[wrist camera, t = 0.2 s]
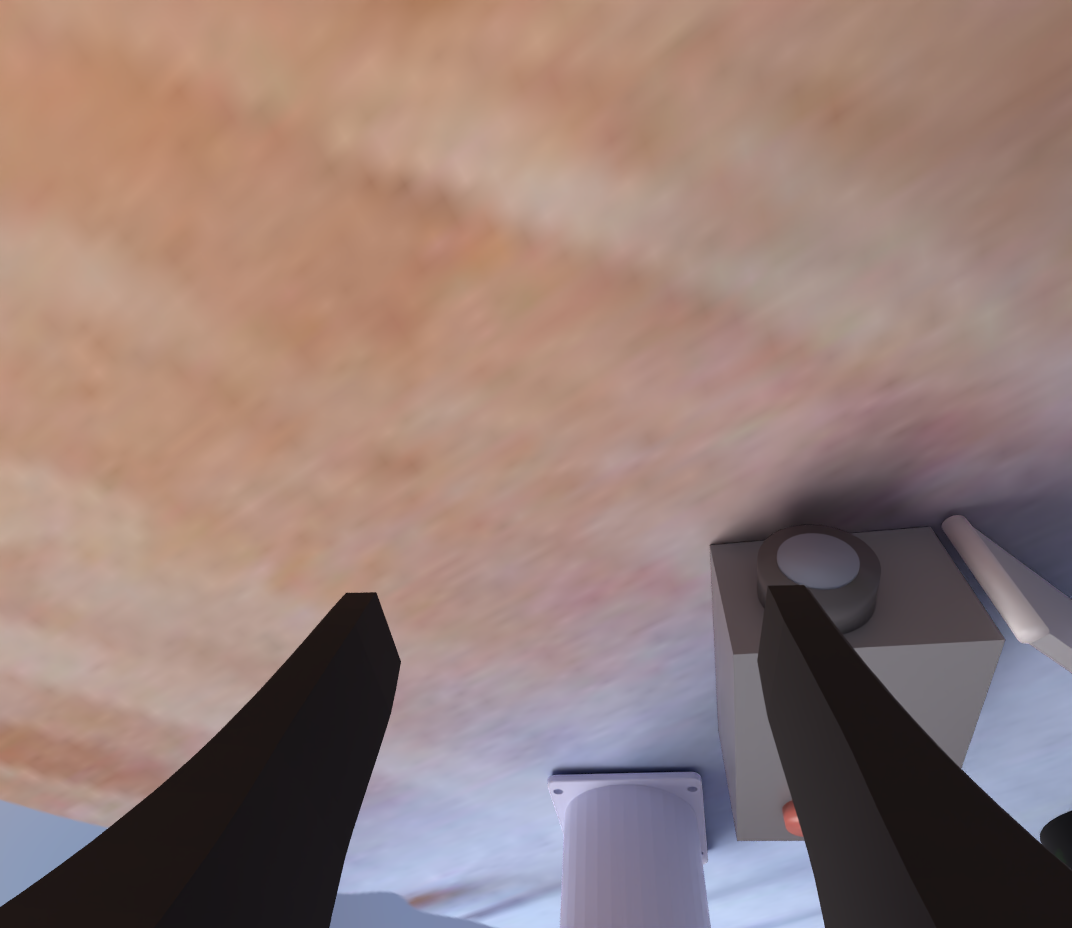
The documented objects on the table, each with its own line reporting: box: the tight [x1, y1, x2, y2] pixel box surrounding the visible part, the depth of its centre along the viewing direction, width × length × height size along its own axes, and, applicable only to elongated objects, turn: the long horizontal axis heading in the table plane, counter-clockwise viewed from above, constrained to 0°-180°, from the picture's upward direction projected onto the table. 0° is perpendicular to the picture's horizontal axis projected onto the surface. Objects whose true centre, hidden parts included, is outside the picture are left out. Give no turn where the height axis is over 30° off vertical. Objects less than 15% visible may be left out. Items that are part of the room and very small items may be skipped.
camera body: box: [710, 525, 1005, 841], centre depth 23 cm, size 14×8×6 cm, turn 11°
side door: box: [942, 515, 1072, 673], centre depth 21 cm, size 9×1×5 cm, turn 56°
